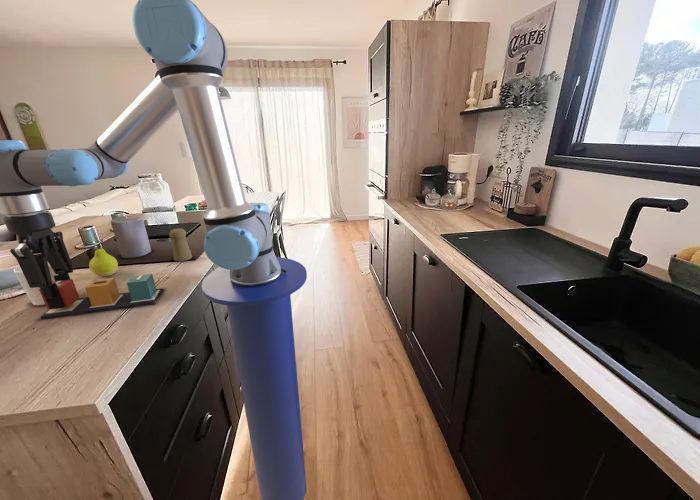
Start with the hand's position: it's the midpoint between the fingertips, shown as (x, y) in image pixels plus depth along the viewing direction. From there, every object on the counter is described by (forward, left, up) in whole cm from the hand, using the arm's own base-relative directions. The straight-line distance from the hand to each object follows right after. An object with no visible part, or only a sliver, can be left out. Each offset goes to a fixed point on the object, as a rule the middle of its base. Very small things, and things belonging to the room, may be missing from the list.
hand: (64, 302), depth 73 cm
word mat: (-9, 0, -2) cm, 9 cm away
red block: (0, 0, 0) cm, 0 cm away
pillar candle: (-3, -39, -2) cm, 39 cm away
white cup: (+7, -7, -2) cm, 10 cm away
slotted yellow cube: (-9, 0, -1) cm, 9 cm away
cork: (-21, -29, -2) cm, 36 cm away
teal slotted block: (-18, 0, -1) cm, 18 cm away
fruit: (-1, -20, -2) cm, 20 cm away
